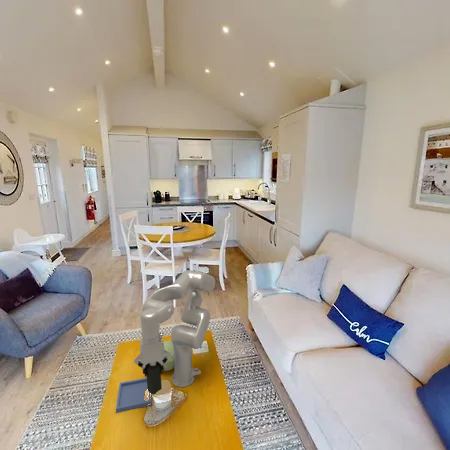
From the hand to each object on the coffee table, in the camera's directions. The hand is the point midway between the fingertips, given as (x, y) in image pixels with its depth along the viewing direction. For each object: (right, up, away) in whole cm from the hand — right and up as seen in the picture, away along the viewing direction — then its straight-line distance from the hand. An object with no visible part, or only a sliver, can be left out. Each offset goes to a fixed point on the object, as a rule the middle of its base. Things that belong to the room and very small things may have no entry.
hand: (153, 372), depth 117 cm
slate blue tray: (-14, -21, +16) cm, 30 cm away
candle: (0, -9, +2) cm, 9 cm away
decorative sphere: (-2, -17, +36) cm, 40 cm away
